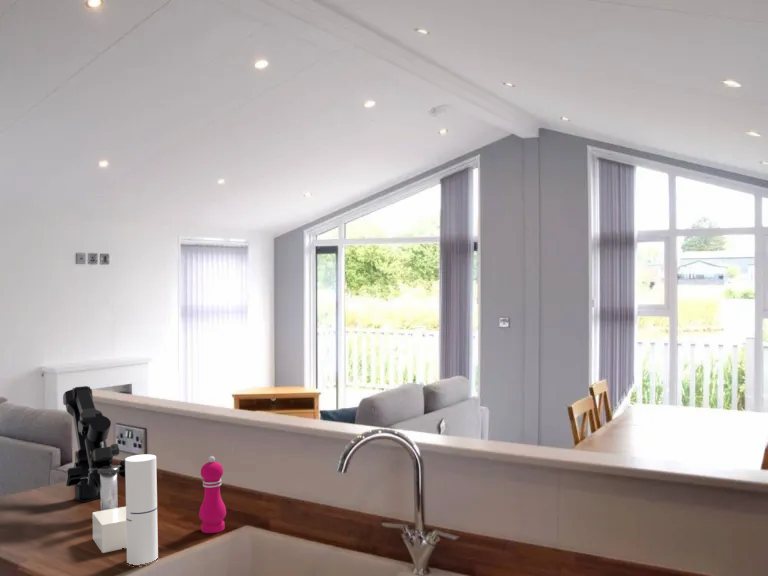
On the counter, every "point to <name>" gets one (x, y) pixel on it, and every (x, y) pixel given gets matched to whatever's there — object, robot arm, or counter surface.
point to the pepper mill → (212, 498)
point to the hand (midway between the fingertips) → (106, 497)
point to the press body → (110, 529)
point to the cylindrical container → (141, 509)
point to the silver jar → (108, 487)
